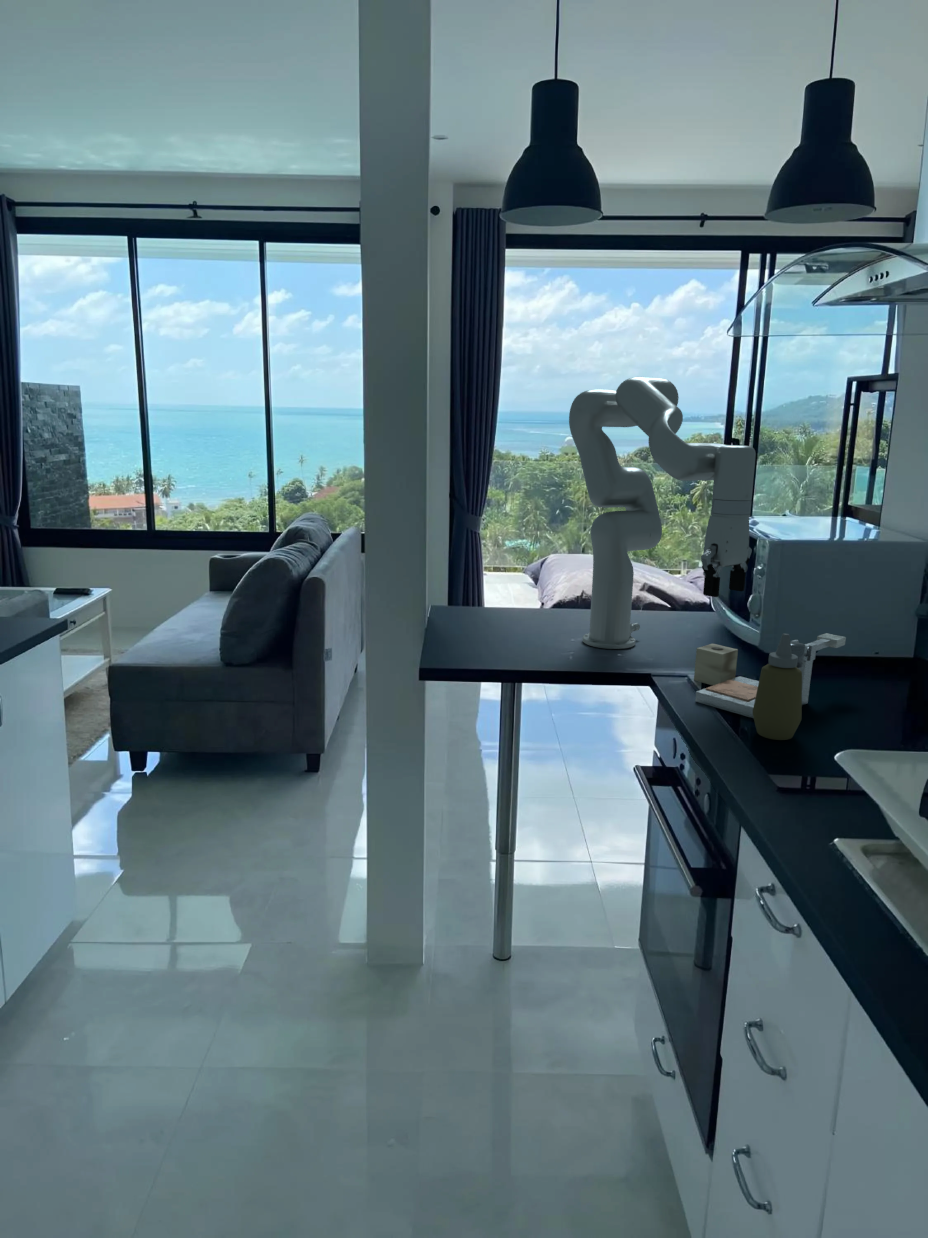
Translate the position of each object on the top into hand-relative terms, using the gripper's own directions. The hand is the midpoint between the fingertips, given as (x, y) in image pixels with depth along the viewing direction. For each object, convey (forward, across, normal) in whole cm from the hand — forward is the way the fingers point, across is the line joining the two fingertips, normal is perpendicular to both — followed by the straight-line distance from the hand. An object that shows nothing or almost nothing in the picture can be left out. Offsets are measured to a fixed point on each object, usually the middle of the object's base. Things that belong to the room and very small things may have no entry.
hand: (723, 593), depth 176 cm
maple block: (+19, 0, -1) cm, 19 cm away
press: (+19, +7, +11) cm, 23 cm away
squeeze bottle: (+19, +20, +23) cm, 36 cm away
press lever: (+10, -4, +18) cm, 21 cm away
